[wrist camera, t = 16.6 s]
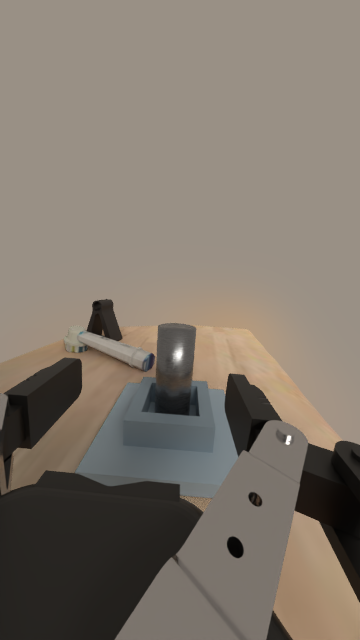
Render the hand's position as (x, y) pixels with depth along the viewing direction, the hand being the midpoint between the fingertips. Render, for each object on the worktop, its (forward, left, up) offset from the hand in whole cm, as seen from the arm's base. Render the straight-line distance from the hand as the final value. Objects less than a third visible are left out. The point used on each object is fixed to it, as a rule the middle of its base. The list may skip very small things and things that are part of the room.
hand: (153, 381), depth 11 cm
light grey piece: (-17, +34, -14) cm, 40 cm away
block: (+1, +13, -13) cm, 18 cm away
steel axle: (+1, +13, -12) cm, 17 cm away
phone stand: (-22, +47, -14) cm, 54 cm away
